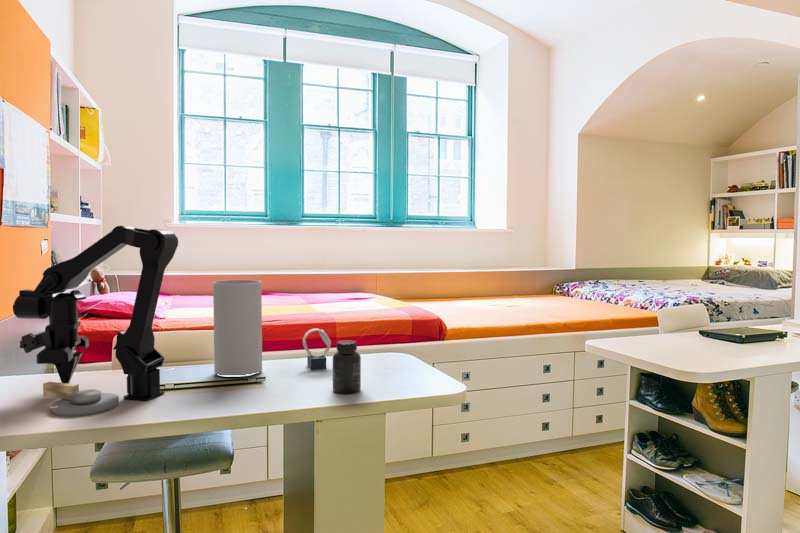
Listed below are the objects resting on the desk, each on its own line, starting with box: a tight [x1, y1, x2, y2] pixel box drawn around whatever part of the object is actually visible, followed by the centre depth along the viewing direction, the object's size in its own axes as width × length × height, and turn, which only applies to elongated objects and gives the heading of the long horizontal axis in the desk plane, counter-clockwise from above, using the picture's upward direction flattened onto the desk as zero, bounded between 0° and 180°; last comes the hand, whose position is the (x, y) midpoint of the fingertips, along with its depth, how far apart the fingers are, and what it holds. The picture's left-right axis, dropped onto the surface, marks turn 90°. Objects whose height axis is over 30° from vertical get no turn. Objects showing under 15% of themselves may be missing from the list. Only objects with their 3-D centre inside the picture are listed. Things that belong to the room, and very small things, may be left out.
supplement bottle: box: [332, 339, 362, 395], centre depth 136 cm, size 7×7×12 cm
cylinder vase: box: [212, 279, 263, 375], centre depth 151 cm, size 12×12×25 cm
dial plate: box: [49, 392, 120, 418], centre depth 122 cm, size 13×13×1 cm
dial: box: [42, 381, 102, 405], centre depth 123 cm, size 14×6×3 cm, turn 76°
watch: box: [302, 328, 332, 371], centre depth 159 cm, size 6×8×11 cm
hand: (65, 384), depth 132 cm, fingers closed
